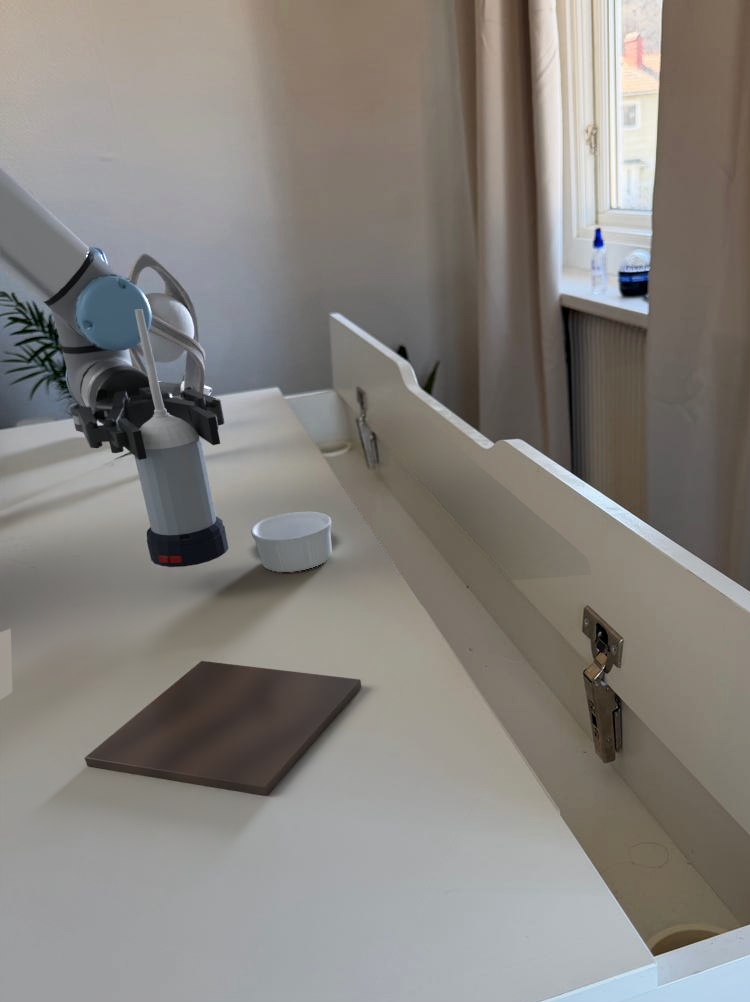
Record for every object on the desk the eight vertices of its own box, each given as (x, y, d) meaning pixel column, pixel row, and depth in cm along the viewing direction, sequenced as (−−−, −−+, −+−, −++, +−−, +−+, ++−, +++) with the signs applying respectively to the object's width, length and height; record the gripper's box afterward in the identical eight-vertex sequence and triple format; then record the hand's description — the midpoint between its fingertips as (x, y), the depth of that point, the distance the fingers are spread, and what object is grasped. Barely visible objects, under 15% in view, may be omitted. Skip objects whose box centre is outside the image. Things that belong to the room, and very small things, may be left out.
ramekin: (255, 580, 106) (248, 543, 104) (259, 550, 114) (252, 515, 112) (337, 570, 107) (331, 533, 105) (335, 541, 115) (330, 506, 113)
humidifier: (156, 573, 100) (98, 319, 89) (146, 548, 107) (90, 309, 95) (235, 556, 103) (189, 308, 91) (220, 533, 109) (175, 299, 98)
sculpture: (231, 447, 156) (194, 246, 143) (216, 468, 146) (175, 254, 133) (159, 452, 156) (115, 252, 143) (139, 474, 146) (89, 261, 133)
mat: (86, 766, 76) (84, 757, 75) (203, 668, 89) (201, 660, 88) (266, 796, 70) (265, 786, 70) (361, 687, 84) (360, 679, 83)
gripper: (211, 415, 118) (278, 456, 101) (42, 446, 110) (83, 496, 92) (199, 352, 115) (267, 382, 97) (24, 379, 107) (63, 417, 89)
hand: (177, 438), depth 95 cm, fingers closed on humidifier, 7 cm apart
